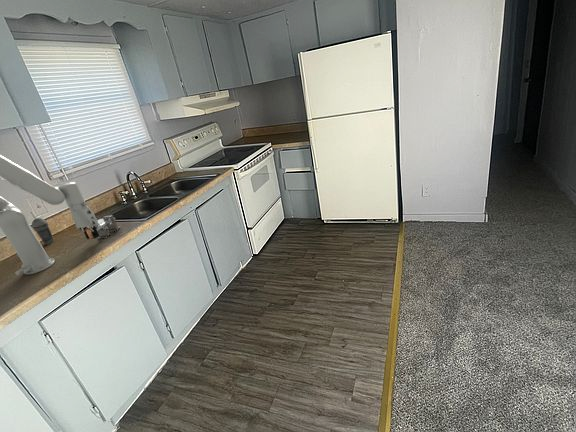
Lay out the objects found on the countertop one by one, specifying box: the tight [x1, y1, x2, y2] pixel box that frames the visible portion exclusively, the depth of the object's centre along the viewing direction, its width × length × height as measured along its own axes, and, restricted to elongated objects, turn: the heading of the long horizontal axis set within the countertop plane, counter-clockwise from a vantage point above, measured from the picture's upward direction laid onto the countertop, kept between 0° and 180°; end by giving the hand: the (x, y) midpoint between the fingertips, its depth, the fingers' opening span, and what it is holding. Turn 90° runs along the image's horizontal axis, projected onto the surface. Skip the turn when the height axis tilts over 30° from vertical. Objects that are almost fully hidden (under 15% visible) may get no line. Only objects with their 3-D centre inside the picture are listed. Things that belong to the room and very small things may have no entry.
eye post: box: [102, 214, 121, 233], centre depth 175 cm, size 5×6×9 cm
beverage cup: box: [30, 211, 55, 245], centre depth 173 cm, size 7×7×20 cm
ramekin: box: [92, 218, 108, 230], centre depth 180 cm, size 11×11×5 cm
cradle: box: [97, 229, 111, 240], centre depth 169 cm, size 4×5×5 cm
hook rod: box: [85, 217, 116, 241], centre depth 169 cm, size 20×4×6 cm, turn 171°
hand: (93, 237), depth 163 cm, fingers closed on hook rod, 3 cm apart
